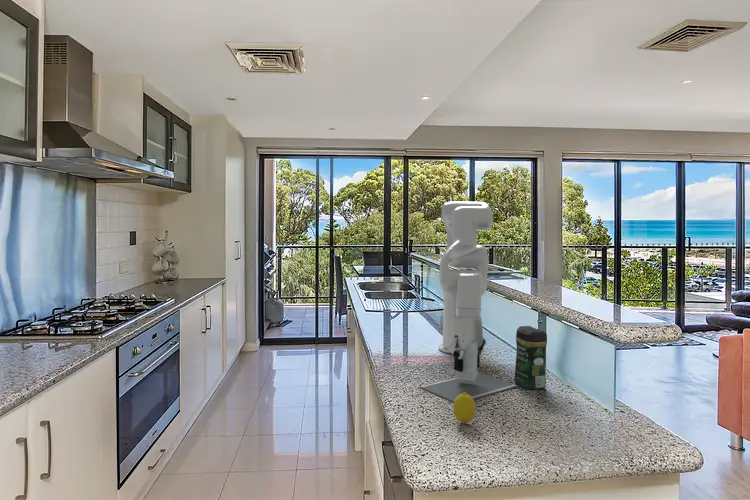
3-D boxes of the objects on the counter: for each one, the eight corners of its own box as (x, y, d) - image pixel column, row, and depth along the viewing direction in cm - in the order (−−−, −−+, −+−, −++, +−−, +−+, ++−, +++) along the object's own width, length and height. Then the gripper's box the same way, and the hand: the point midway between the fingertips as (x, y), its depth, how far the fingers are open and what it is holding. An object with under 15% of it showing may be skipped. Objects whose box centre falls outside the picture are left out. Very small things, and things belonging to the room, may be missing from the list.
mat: (477, 373, 163) (478, 372, 163) (516, 387, 150) (516, 385, 150) (420, 387, 148) (420, 386, 148) (457, 404, 135) (457, 402, 135)
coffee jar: (510, 381, 156) (512, 324, 155) (531, 379, 158) (533, 323, 157) (527, 391, 147) (529, 331, 146) (549, 389, 149) (552, 330, 148)
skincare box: (477, 377, 152) (478, 340, 152) (475, 381, 148) (476, 343, 148) (458, 375, 154) (459, 338, 154) (455, 379, 150) (456, 341, 150)
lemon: (450, 419, 125) (451, 388, 124) (471, 418, 125) (472, 388, 125) (455, 428, 119) (456, 396, 119) (477, 427, 120) (478, 396, 119)
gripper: (478, 308, 158) (476, 361, 159) (439, 313, 148) (438, 370, 149) (496, 311, 152) (494, 367, 153) (457, 317, 142) (455, 376, 143)
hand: (466, 368), depth 151 cm, fingers closed on skincare box, 6 cm apart
